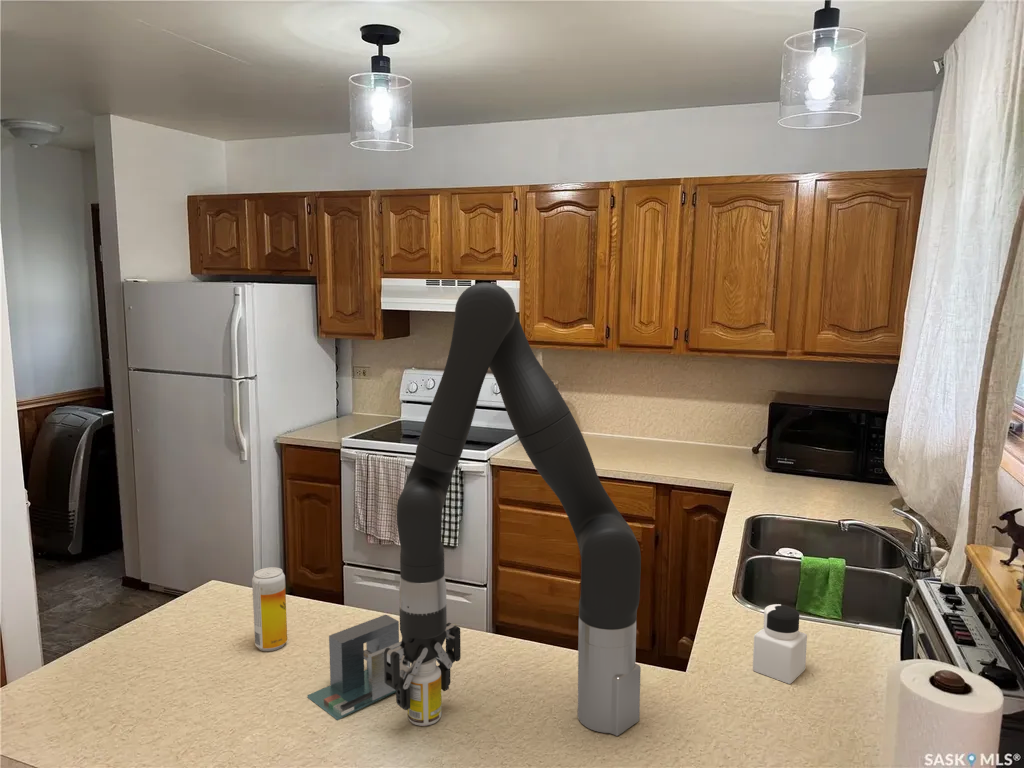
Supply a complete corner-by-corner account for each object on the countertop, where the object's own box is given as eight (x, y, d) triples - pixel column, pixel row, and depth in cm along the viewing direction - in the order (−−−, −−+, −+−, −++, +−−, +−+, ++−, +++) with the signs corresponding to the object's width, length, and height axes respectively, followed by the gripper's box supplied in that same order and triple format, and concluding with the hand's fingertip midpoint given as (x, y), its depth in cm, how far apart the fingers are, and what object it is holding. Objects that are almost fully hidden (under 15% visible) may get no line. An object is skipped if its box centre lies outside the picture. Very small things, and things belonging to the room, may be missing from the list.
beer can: (294, 642, 143) (291, 570, 142) (269, 655, 138) (265, 580, 136) (273, 635, 147) (270, 564, 145) (248, 647, 142) (245, 574, 140)
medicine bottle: (805, 670, 133) (809, 608, 132) (790, 685, 128) (793, 620, 126) (768, 657, 138) (771, 597, 136) (751, 671, 133) (754, 609, 131)
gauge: (422, 679, 130) (421, 629, 128) (337, 720, 117) (335, 664, 116) (391, 661, 136) (390, 612, 135) (307, 697, 124) (305, 644, 123)
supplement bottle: (441, 707, 121) (441, 649, 120) (441, 726, 116) (441, 666, 114) (408, 708, 120) (407, 651, 119) (406, 728, 115) (405, 668, 114)
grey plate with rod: (410, 682, 127) (409, 641, 126) (343, 714, 117) (342, 669, 116) (384, 666, 133) (383, 626, 132) (318, 695, 123) (316, 652, 122)
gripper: (400, 623, 108) (402, 725, 110) (471, 595, 118) (472, 690, 120) (372, 608, 113) (374, 706, 115) (442, 582, 123) (443, 673, 125)
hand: (424, 697), depth 118 cm, fingers open, 7 cm apart
